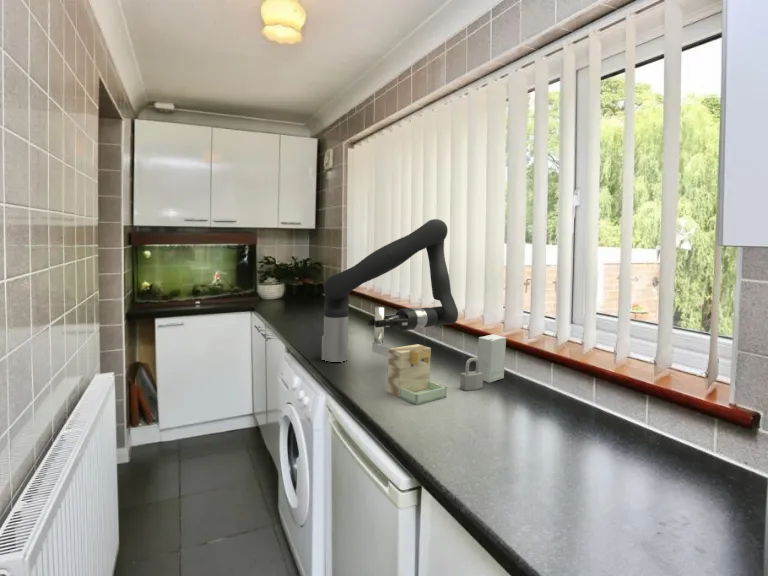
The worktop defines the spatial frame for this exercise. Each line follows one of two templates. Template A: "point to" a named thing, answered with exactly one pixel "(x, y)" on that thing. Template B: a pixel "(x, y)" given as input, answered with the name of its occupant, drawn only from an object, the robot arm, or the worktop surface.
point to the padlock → (471, 377)
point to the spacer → (420, 356)
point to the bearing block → (406, 371)
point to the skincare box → (491, 357)
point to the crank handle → (381, 336)
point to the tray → (424, 394)
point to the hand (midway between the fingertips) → (372, 323)
